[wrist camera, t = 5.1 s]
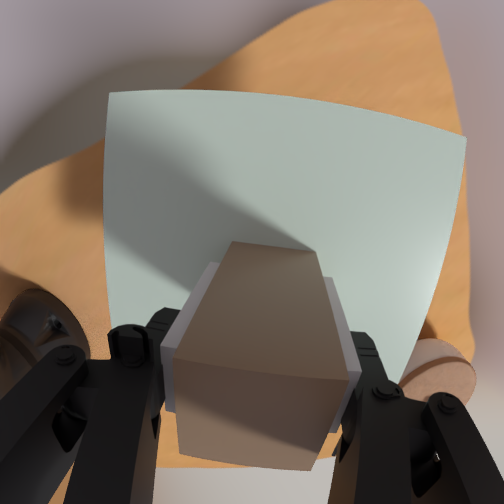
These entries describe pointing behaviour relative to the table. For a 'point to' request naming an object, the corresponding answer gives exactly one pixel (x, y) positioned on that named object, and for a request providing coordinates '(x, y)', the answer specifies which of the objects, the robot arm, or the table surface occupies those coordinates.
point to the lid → (272, 252)
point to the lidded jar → (437, 371)
